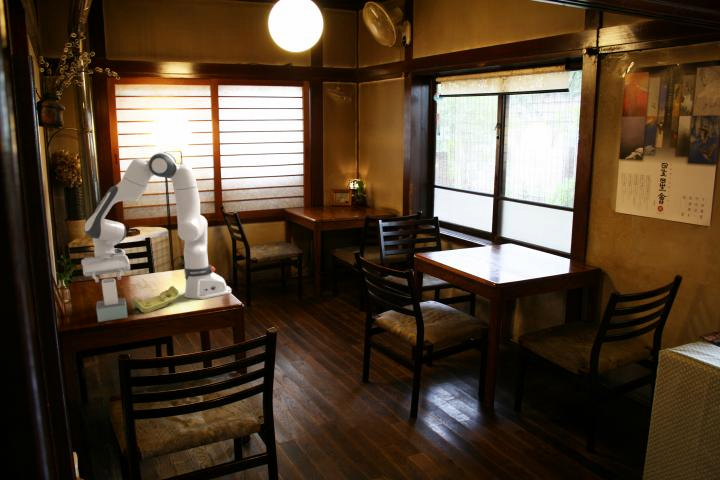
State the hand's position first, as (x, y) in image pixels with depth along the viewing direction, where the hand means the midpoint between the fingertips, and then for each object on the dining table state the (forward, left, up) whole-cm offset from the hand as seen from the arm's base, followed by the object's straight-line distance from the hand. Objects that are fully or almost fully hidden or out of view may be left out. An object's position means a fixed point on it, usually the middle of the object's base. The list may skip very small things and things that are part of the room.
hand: (108, 280), depth 274 cm
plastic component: (-20, +8, -14) cm, 25 cm away
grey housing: (0, +12, -7) cm, 14 cm away
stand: (0, +12, -13) cm, 18 cm away
